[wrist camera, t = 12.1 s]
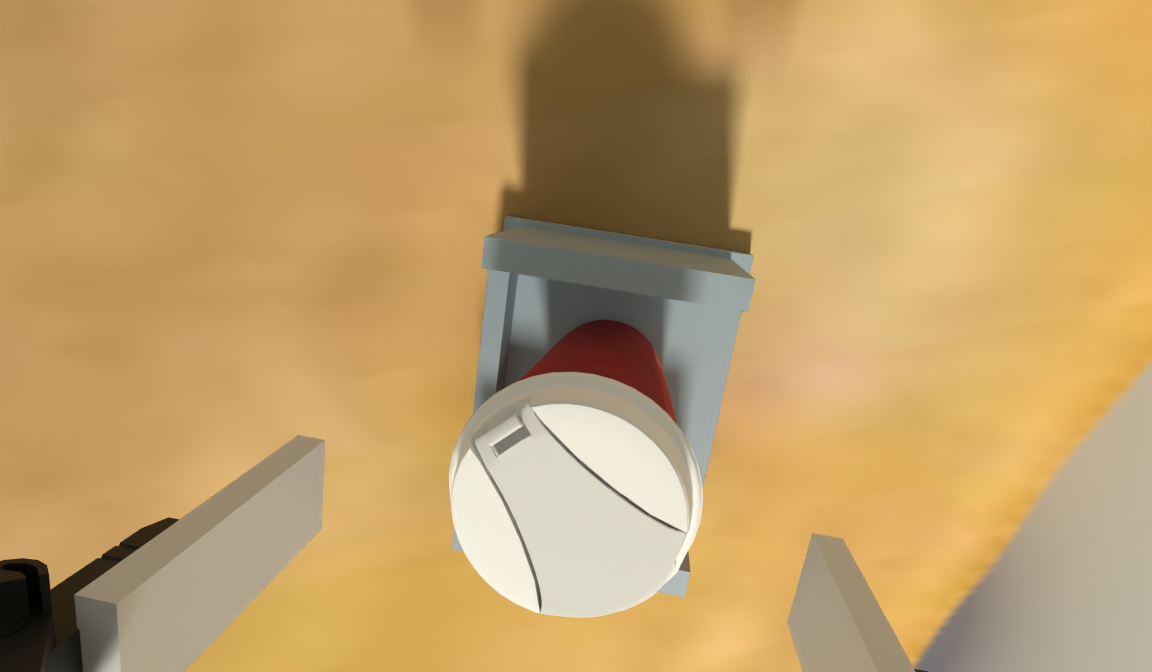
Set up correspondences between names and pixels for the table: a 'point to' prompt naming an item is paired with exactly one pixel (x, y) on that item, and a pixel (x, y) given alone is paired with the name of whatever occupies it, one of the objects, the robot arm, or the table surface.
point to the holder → (615, 314)
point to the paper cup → (578, 479)
